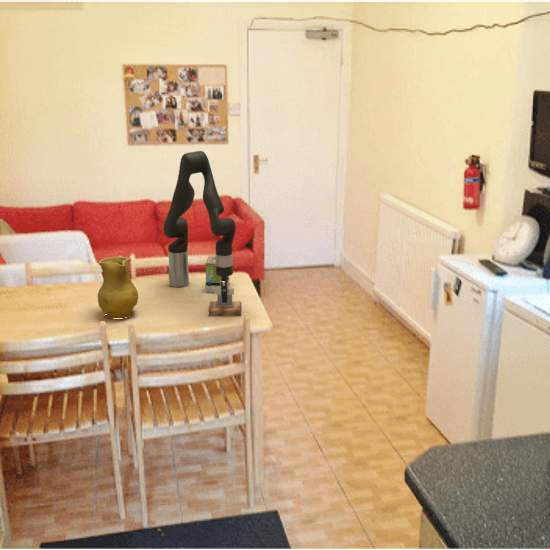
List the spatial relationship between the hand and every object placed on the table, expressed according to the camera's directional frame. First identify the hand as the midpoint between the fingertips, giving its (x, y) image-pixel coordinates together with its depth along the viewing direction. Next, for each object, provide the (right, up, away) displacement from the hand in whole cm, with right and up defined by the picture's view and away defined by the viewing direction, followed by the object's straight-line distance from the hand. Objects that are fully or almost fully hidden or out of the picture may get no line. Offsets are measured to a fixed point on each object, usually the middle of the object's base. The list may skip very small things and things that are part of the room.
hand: (225, 299), depth 297 cm
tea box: (-6, +4, +31) cm, 32 cm away
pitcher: (-46, -6, -1) cm, 46 cm away
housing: (0, -3, +1) cm, 3 cm away
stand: (0, -5, +2) cm, 6 cm away
